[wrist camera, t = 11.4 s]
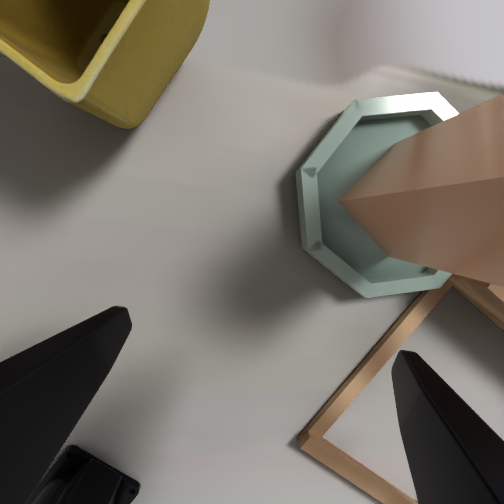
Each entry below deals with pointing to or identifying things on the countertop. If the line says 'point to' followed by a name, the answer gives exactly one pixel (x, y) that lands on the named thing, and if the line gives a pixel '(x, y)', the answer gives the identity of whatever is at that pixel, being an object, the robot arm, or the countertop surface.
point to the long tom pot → (440, 196)
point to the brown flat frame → (310, 440)
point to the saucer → (345, 176)
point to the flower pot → (102, 49)
